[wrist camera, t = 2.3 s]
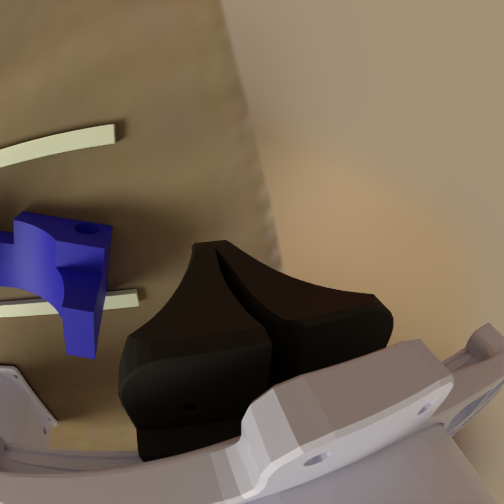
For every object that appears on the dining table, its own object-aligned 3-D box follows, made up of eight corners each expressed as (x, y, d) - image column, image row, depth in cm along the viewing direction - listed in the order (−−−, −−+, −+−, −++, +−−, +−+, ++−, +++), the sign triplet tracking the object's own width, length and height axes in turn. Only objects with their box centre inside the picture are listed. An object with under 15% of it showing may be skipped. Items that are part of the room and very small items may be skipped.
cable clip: (112, 225, 15) (93, 283, 10) (107, 289, 17) (95, 359, 12) (-43, 200, 11) (-95, 240, 6) (-37, 261, 12) (-77, 312, 7)
